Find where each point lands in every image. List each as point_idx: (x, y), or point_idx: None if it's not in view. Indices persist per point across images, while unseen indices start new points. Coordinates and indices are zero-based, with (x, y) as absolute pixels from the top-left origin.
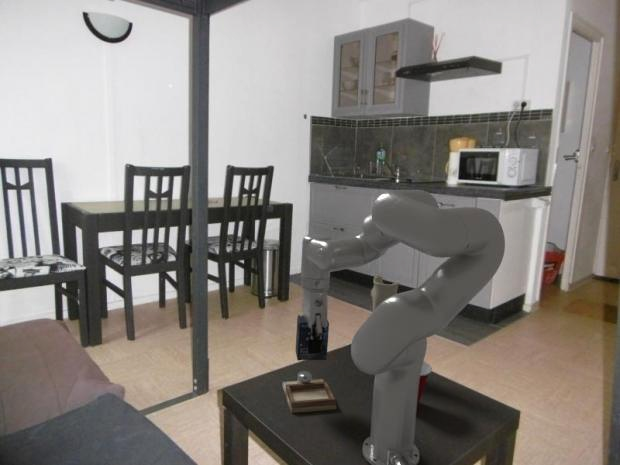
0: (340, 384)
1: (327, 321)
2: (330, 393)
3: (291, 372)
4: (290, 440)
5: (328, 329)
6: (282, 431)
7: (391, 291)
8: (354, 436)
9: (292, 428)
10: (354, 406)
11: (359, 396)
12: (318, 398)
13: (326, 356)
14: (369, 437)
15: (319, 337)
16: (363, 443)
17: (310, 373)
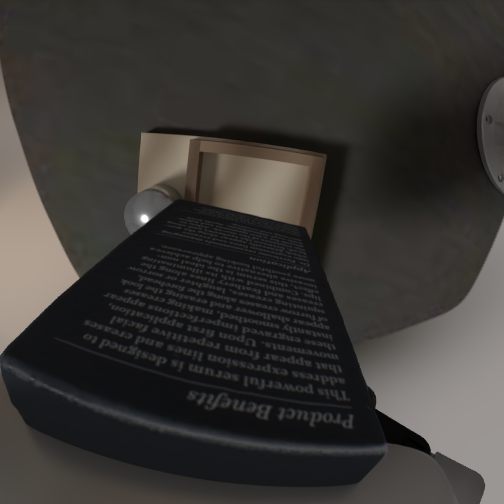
0: (175, 75)
1: (308, 462)
2: (279, 157)
3: (72, 215)
4: (400, 322)
5: (361, 372)
6: (364, 330)
7: None
8: (453, 173)
9: (364, 307)
10: (327, 88)
11: (272, 43)
12: (265, 194)
13: (308, 236)
14: (487, 154)
15: (396, 427)
16: (497, 182)
17: (145, 194)
